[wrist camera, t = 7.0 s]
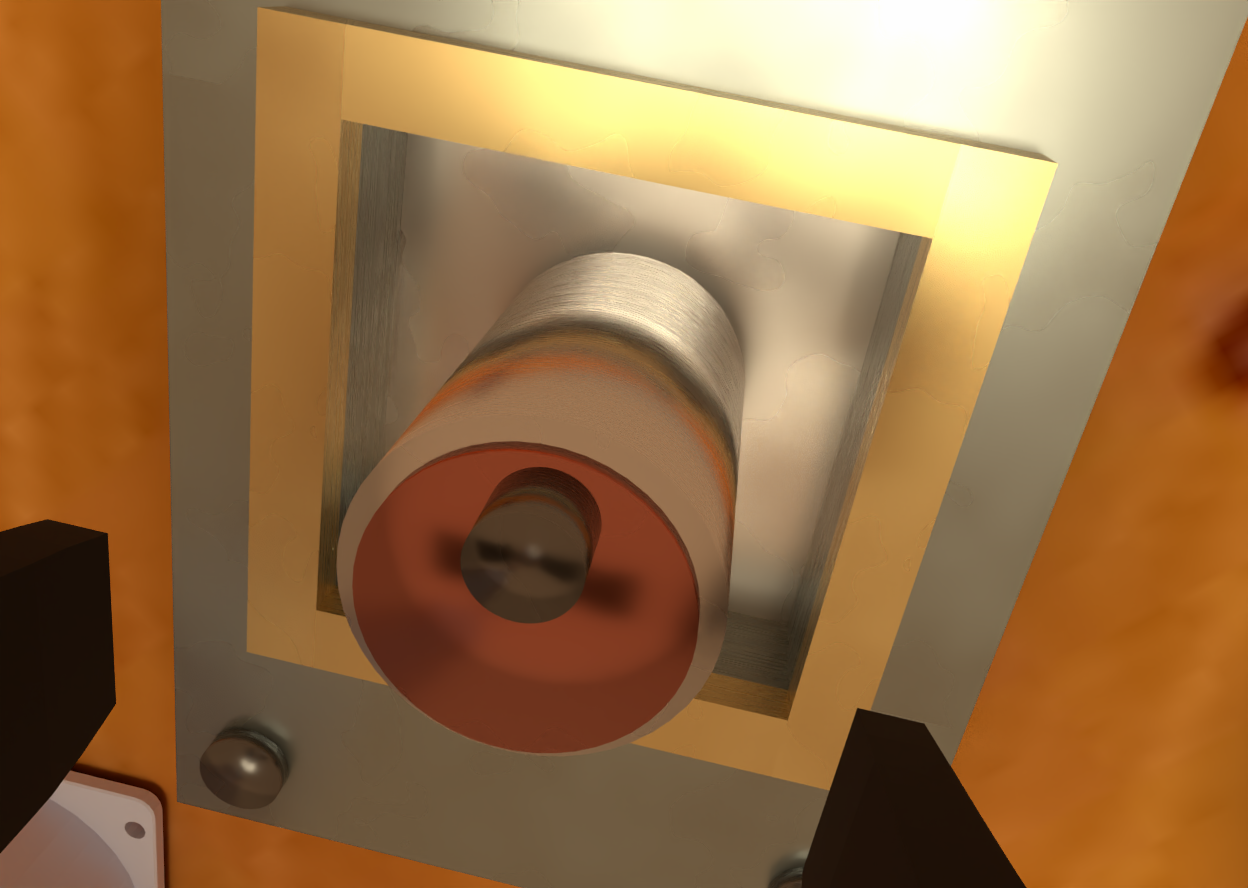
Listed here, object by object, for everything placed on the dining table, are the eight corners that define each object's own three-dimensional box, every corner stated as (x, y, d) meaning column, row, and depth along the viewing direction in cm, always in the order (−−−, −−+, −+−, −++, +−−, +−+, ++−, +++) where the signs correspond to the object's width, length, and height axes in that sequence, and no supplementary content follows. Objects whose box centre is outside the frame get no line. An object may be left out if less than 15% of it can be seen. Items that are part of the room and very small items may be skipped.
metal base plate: (859, 854, 22) (871, 1011, 19) (248, 707, 23) (155, 831, 20) (1245, -207, 14) (1394, -272, 11) (268, -373, 15) (111, -484, 11)
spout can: (706, 520, 19) (660, 884, 11) (472, 456, 19) (268, 772, 11) (778, 292, 17) (780, 543, 9) (517, 222, 17) (308, 414, 9)
